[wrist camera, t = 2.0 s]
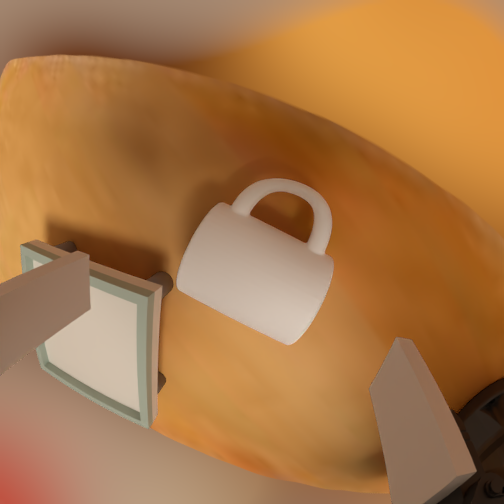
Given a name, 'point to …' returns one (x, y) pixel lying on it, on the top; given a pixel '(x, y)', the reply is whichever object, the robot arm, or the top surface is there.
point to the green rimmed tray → (108, 338)
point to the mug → (260, 264)
